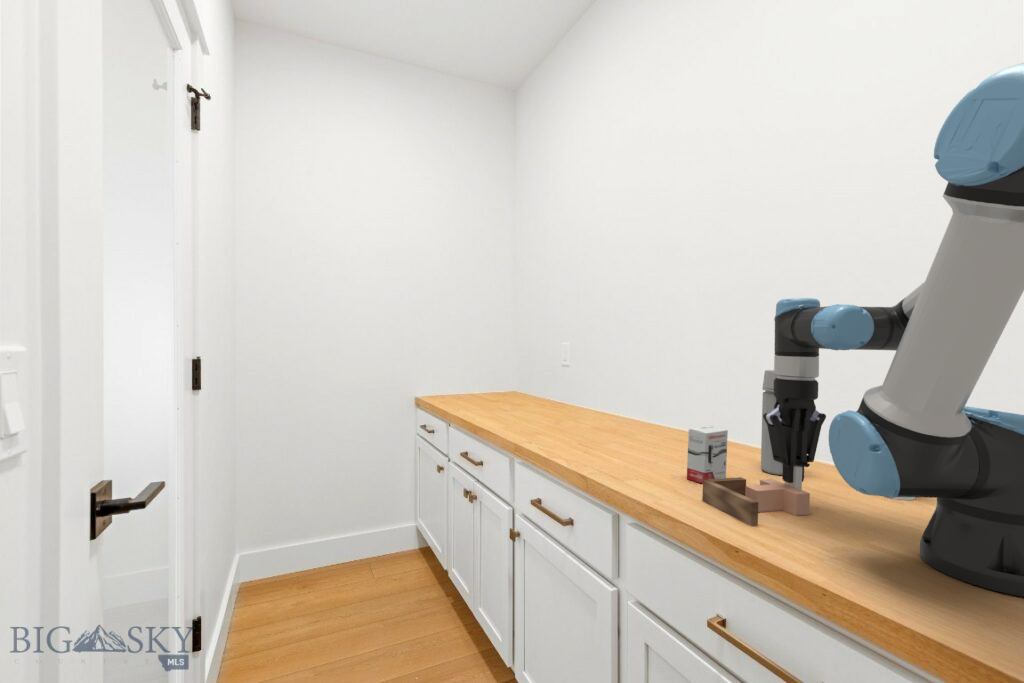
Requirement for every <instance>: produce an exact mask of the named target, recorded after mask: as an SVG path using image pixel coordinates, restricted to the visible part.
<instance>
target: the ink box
mask: <svg viewBox="0 0 1024 683" xmlns="http://www.w3.org/2000/svg"><path fill="white" fill-rule="evenodd" d="M687 438H688V441H687V458H686V459H687V462H686V463H687V464H686V480H689V481H692V482H696V483H698V484H702V485H703V481H705V480H708V479H723V478H727V456H728V429H724V428H719V427H716V426H712V425H706V426H699V427H698V426H697V427H690V428H689V429H688V437H687Z"/></svg>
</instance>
